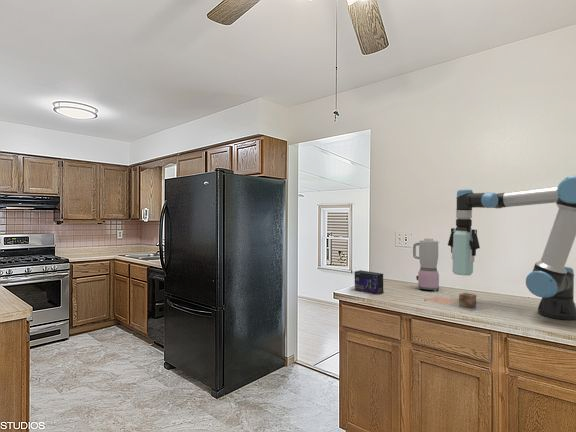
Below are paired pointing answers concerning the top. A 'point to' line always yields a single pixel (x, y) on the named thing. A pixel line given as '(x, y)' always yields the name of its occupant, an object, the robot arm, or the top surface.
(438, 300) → the terracotta tile
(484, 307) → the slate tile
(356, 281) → the black digital alarm clock
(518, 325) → the top surface
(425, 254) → the blender
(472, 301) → the walnut block
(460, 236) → the water bottle
